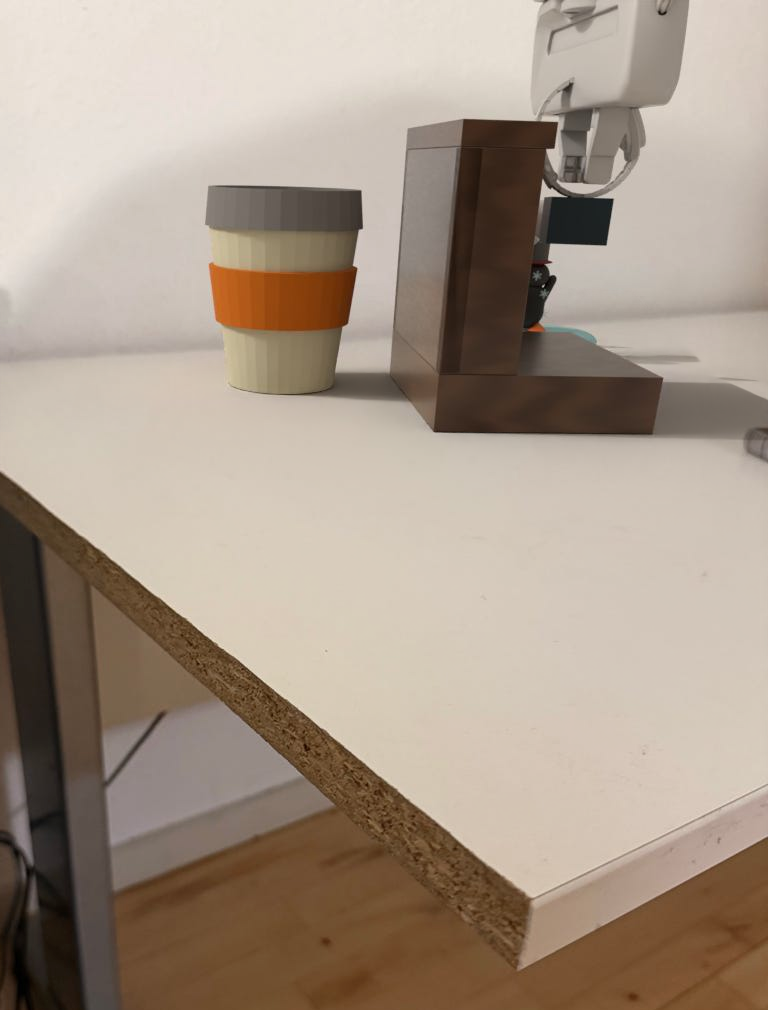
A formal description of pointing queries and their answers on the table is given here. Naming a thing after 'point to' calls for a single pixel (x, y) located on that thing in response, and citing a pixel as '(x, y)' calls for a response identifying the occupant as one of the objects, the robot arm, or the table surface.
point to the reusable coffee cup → (282, 281)
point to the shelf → (493, 296)
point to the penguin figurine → (543, 289)
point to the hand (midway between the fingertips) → (581, 183)
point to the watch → (582, 213)
